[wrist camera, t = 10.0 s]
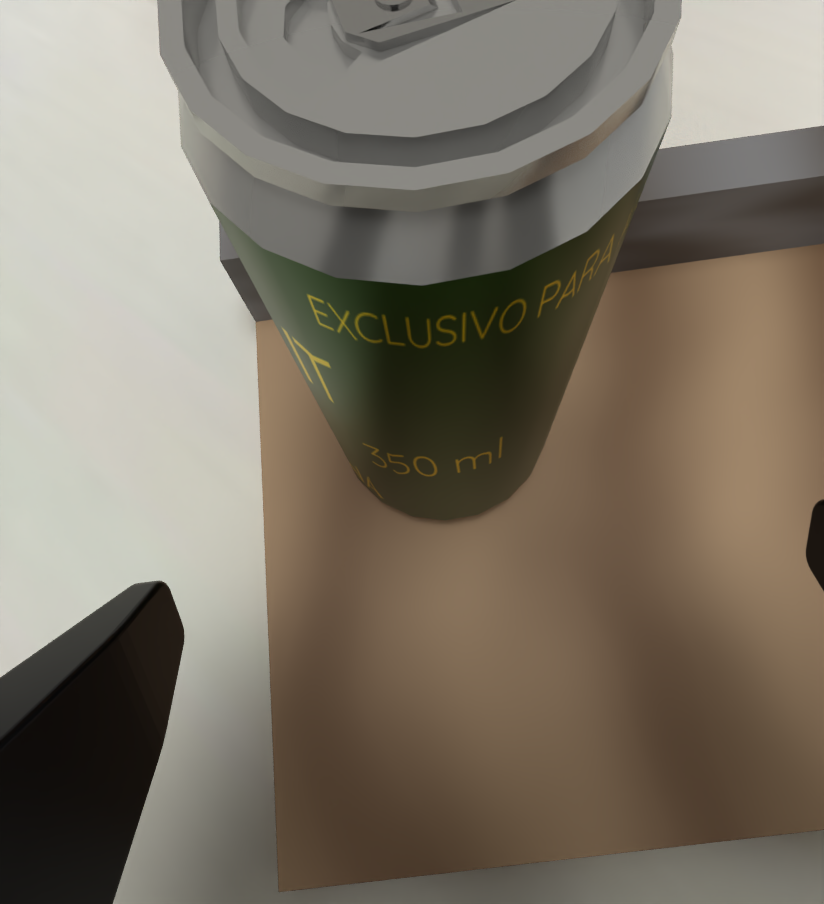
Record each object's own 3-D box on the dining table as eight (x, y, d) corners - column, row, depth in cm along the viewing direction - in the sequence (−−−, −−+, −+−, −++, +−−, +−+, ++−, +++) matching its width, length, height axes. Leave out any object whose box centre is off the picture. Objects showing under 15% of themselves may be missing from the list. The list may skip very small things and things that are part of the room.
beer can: (500, 317, 18) (568, -256, 7) (574, 487, 16) (831, 94, 5) (322, 376, 18) (92, -114, 7) (378, 555, 16) (195, 299, 5)
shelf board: (898, 196, 20) (997, 91, 16) (1162, 780, 14) (1399, 818, 11) (261, 285, 20) (219, 202, 16) (287, 880, 15) (233, 949, 11)
